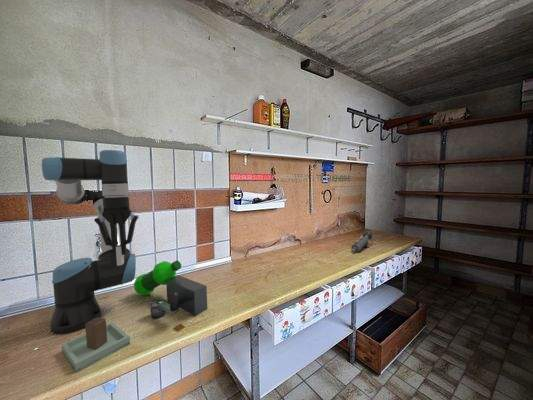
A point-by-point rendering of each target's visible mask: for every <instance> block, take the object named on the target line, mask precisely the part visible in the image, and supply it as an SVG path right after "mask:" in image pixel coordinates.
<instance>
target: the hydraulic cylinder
mask: <svg viewBox="0 0 533 400" xmlns="http://www.w3.org/2000/svg"><path fill="white" fill-rule="evenodd" d="M374 236H375V235H374V233H373V232H370V233H369V232H368V231H365V232H364V233H363V235H361V236H359V238H357V239H356V240H355V241H354V243H353V244H351V253H359V252H360V251H361V250H362V249H363V248H369V247H370V244H369V241H370V240H372V238H373V237H374Z"/></svg>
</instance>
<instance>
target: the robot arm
mask: <svg viewBox="0 0 533 400" xmlns="http://www.w3.org/2000/svg"><path fill="white" fill-rule="evenodd" d="M127 163H128V160H127V154H126V152H124V151H122V150H116V149H115V150H114V149H104V150H100V151H99V158H75V157H59V156H56V157H44V158H42V160H41V170H42V177H43V179H44V180H45V181H53V182H55V184H56V189H55V191H56V193H55V194H56V197H57V199H59V200H60V201H61V202H63V203H65V204H67V205H69V204H79V203H82V202H83V201H85V200H86V201H88V200H93V207H92V209H93V208H94V209H95V210H96V211H97V212H96V211H95V210H94V209H93V210H94V211H95V212H96V213H97V217H96V218H94V219H93V220H94V222H95V223H96V224H97V225H98V230H99V238H100V246H101V253H100V254H99V255H98V256H97V259H95V260H93V259H92V258H91V257H82V258H80V257H79V258H77V259H73V260H70V261H67V262H64V263H61V264H60V265H58V266H57V267H56V268H54V270H53V271H52V280H51V283H52V285H53V297H54V310H53V314H52V317H51V320H50V323H49V326H50V332H51V333H52V334H54V335H55V334H56V335H65V334H69V333H70V334H71V333H73V332H77V331H80V330H83V329H86V328H85V324H86V323H87V322H89V321H91V320H93V319H94V318H96V317H100V318H102V307H101V306H100V304H99V303H98V300H97V299H96V297H95V292H96V291H100V290H105V289H108V288H113V287H116V286H123V285H124V284H128V283H130V282H133V281H134V280H135V279H136V278H135V277H136V269H137V268H136V267H137V266H136V263H137V262H136V260H137V259H136V254H135V253H131V250H130V249H129V248H127V245H129V244H130V243H132V242H133V237H134V233H135V227H136V222H137V220H138V219H139V215H138V214H137V215H136V214H134V213H132V210H131V208H130V197H128V195H130V194H129V183H128V182H129V181H128V168H127V167H128V164H127ZM82 181H101V183H102V191H98V192H95V191H94V192H93V191H89V190H84V188H83V186H82V185H81V183H82ZM86 195H87V196H86ZM128 219H130V224H129V226H128V227H129V228H128V232H126V222H127V221H128ZM126 233H127V234H126Z"/></svg>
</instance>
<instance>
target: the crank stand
mask: <svg viewBox="0 0 533 400" xmlns="http://www.w3.org/2000/svg"><path fill="white" fill-rule="evenodd" d="M165 286H166V303H168V304H170V298H169V294H170V293H171V292H174V291H177V292H178V301H179V309H181V310H182V311H184V312H186V313H188V314H191V315H192V316H194V317H196V316H198V315H201V314H202V313H203V312H206V311H207V310H208V291H207V290H208V289H207V285H206V284H203V283H200V282H197V281H195V280H192V279H189V278H188V277H185V276H184V277H183V276H182V275H175V277H172V278H170V279H167V280H166V285H165ZM165 312H166V311H164V310H162V309H159V308H151V307H150V318H151V319H152V320H157V319H161V318H163V317H164V316H165V314H166V313H165ZM185 328H186V325H183V324H182V323H179V324H177V325H176V326H174V327H172V330H174V331H176V332H180V331H182V330H183V329H185Z"/></svg>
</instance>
